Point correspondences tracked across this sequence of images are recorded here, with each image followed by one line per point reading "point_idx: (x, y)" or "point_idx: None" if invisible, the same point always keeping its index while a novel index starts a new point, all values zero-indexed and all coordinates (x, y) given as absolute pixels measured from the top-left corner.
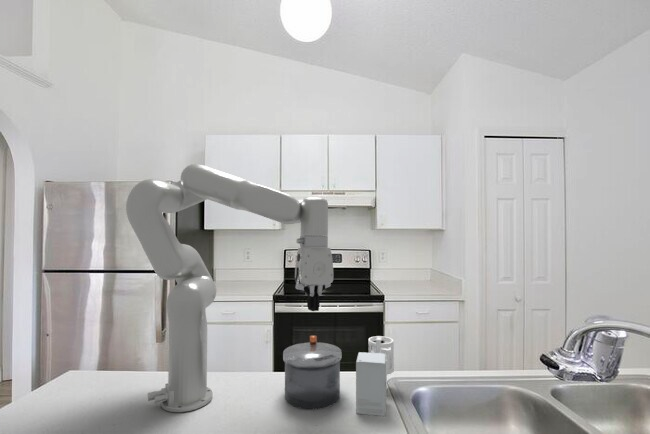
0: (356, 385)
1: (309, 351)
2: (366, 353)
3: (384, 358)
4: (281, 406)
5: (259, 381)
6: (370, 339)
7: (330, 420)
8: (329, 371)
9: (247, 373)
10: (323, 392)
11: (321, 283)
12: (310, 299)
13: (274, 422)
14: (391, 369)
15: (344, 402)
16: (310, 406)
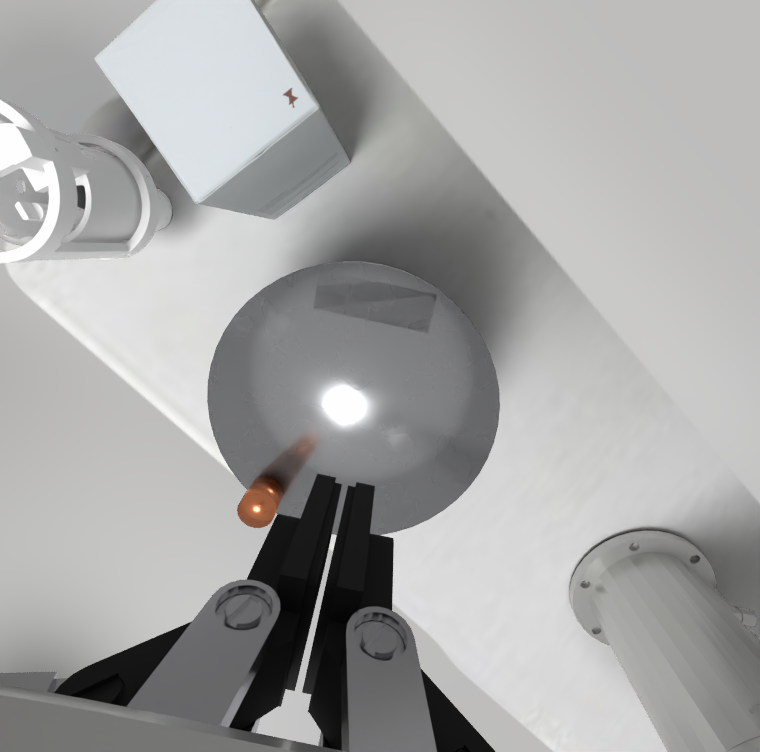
0: (336, 138)
1: (362, 422)
2: (181, 149)
3: (156, 4)
4: None
5: (421, 546)
6: (24, 247)
7: (440, 199)
8: None
9: (412, 611)
10: None
11: (199, 739)
12: (390, 597)
13: (562, 321)
14: (82, 134)
15: (322, 246)
16: None
